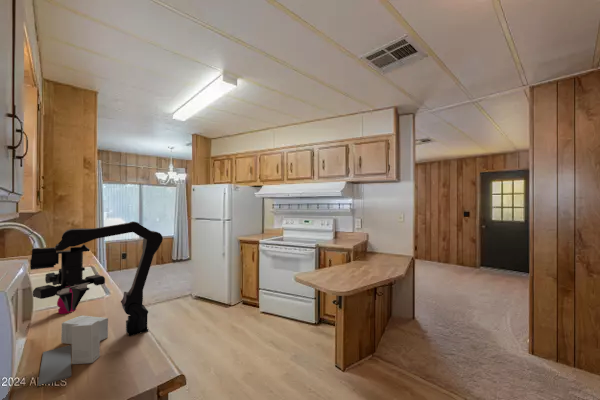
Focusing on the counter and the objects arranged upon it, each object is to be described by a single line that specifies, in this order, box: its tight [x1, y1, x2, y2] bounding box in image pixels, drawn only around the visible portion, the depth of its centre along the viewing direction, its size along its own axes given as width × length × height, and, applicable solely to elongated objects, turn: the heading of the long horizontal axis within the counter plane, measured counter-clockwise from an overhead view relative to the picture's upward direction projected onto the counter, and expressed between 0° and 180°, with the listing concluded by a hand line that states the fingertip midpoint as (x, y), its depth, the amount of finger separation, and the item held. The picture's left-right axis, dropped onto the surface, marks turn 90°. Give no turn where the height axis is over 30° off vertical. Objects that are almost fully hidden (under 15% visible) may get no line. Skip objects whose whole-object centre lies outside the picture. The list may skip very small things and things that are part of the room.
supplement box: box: [60, 315, 109, 345], centre depth 99 cm, size 7×7×13 cm
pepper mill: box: [56, 286, 77, 315], centre depth 126 cm, size 7×7×20 cm
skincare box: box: [71, 320, 101, 365], centre depth 86 cm, size 6×4×12 cm
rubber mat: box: [37, 344, 72, 387], centre depth 84 cm, size 7×22×1 cm, turn 41°
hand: (71, 310), depth 94 cm, fingers closed
